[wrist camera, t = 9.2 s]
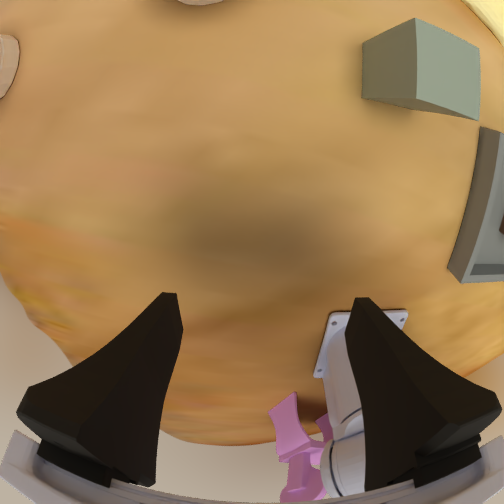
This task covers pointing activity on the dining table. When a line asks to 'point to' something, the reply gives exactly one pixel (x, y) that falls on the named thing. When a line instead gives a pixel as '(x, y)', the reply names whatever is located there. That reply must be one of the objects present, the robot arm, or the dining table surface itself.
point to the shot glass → (199, 2)
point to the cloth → (490, 15)
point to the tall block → (423, 70)
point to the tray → (483, 217)
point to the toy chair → (299, 451)
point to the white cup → (8, 61)
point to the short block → (502, 226)
